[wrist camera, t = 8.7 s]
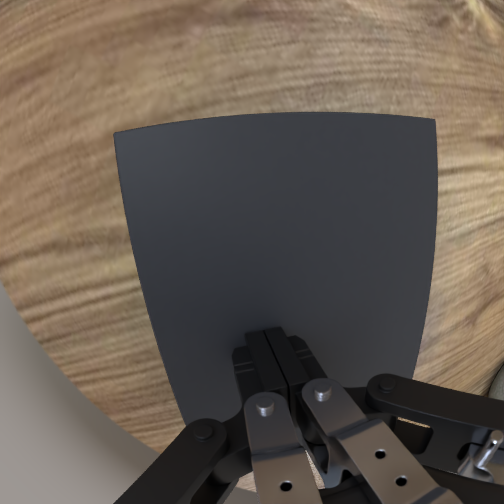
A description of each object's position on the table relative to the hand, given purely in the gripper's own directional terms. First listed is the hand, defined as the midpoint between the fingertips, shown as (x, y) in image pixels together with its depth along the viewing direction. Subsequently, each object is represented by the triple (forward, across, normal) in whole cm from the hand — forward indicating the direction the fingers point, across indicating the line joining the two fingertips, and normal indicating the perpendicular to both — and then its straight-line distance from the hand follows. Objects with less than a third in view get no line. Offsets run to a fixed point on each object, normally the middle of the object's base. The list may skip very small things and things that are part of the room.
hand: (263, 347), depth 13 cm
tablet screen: (+1, -3, 0) cm, 3 cm away
